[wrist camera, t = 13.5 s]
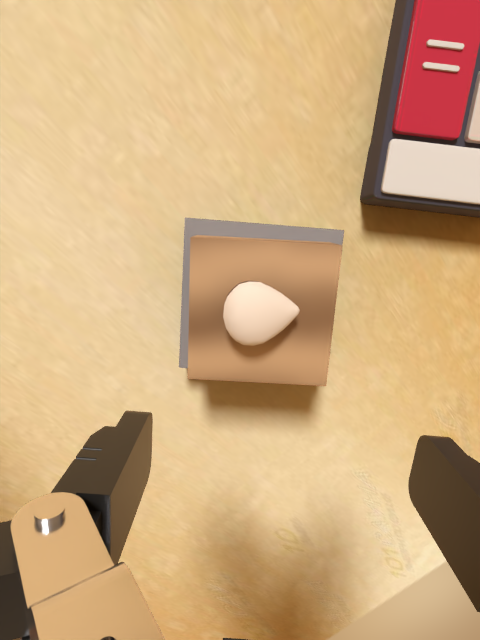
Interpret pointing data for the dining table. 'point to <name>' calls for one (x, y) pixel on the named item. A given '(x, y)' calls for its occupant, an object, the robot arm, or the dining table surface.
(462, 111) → the calculator
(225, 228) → the tower base block
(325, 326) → the tower top block
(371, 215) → the dining table surface
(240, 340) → the pistachio nut
